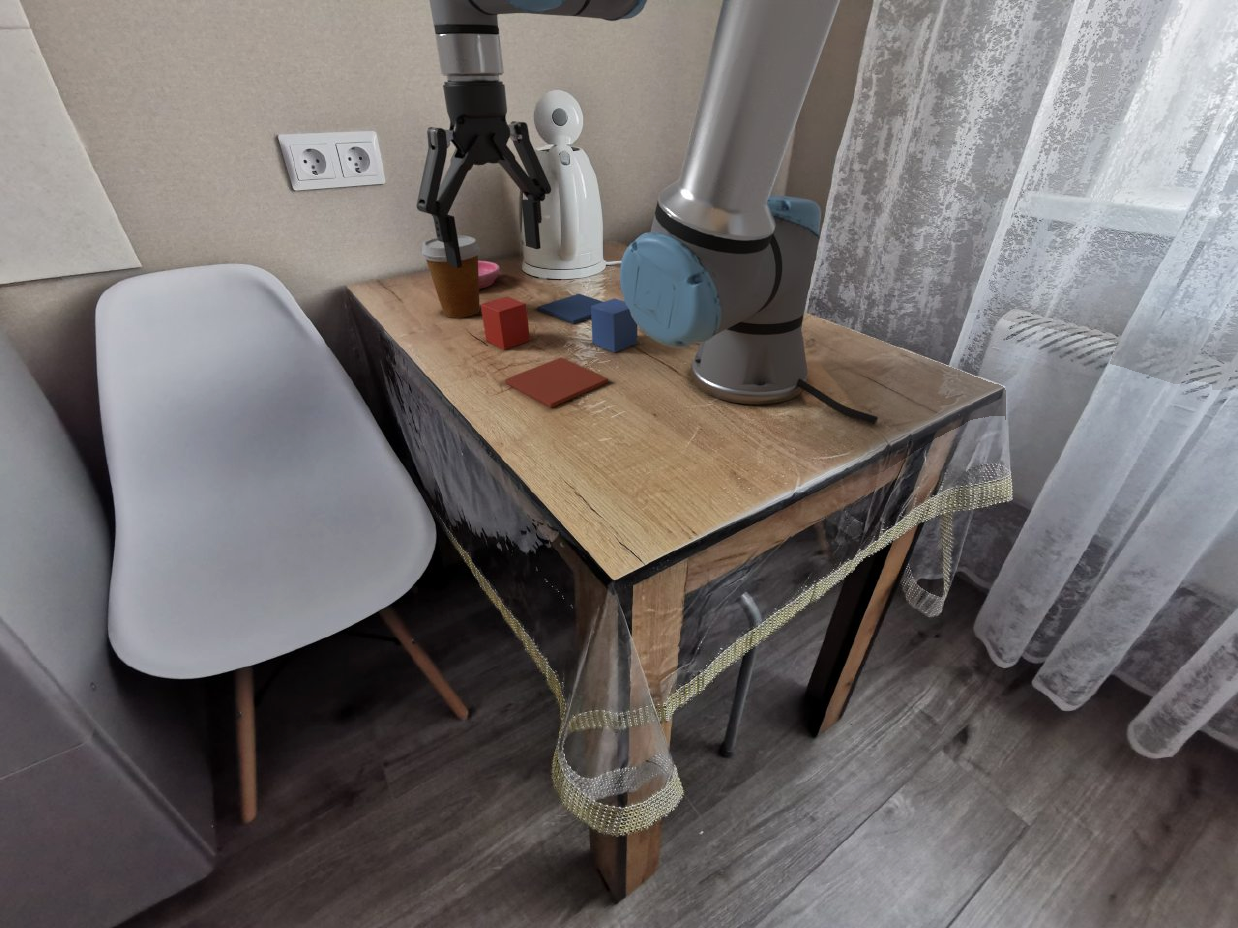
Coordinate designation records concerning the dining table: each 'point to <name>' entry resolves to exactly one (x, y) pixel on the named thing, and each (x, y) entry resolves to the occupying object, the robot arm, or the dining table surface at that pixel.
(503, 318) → the red block
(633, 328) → the blue block
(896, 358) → the dining table surface
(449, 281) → the disposable coffee cup
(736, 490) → the dining table surface
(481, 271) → the pink bowl
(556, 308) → the blue mat
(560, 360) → the red mat
